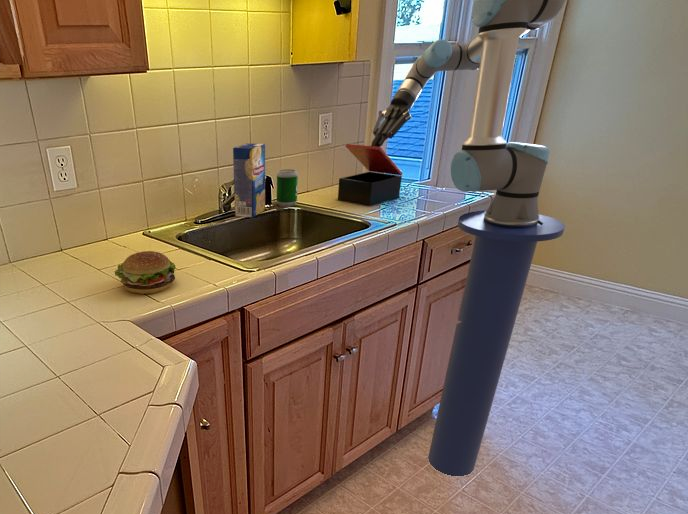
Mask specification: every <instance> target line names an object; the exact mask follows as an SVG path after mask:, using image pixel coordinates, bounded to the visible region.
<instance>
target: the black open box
mask: <svg viewBox="0 0 688 514" xmlns="http://www.w3.org/2000/svg"><path fill="white" fill-rule="evenodd" d="M402 178H403V175H394V174H387V173H379V172H372V171H365V172H361V173H357V174H352V175H348V176H343V177H339V178H338V191H337V201H342V202H347V203H351V204H357V205H362V206H367V207H371V206H374V205H378V204H382V203H386V202H389V201H392V200H395V199H400V193H401V187H402V186H401V185H402Z"/></svg>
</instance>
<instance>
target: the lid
mask: <svg viewBox="0 0 688 514" xmlns="http://www.w3.org/2000/svg"><path fill="white" fill-rule="evenodd" d="M345 148H346V149H347V150H348V151H349V152H350V153H351V154H352V155H353V156H354V157H355V158H356V159H357V160H358V162H359V163H361V165H363V167H365V169H366V170H367V172H377V173H384V174H392V175H399V176H403V171H402V170H401V169H400V168H399V166H397V164H395V162H394V161H393V160H392V159H391V158H390V157H389V155H388V154H387V153H386V151H385V150H383V148H382V146H380V147H375V146H371V145H364V144H362V145H361V144H351V143H346V144H345Z"/></svg>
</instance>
